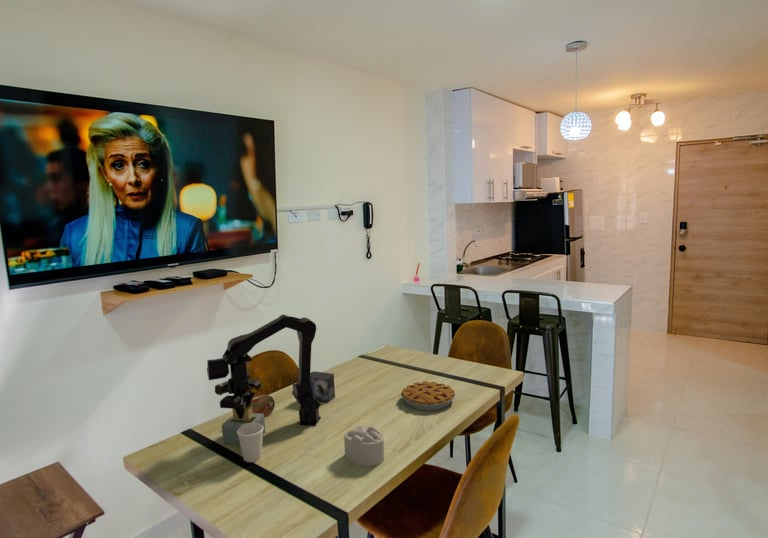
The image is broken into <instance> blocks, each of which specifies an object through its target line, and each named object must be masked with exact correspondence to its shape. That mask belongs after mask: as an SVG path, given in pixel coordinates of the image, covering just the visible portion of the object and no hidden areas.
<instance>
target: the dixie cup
mask: <svg viewBox="0 0 768 538" xmlns="http://www.w3.org/2000/svg"><path fill="white" fill-rule="evenodd" d="M263 429H264V427H263V426H262V425H261V424H257V423H252V424H247V425H244V426H242V427H240V428H239V429H238V430H237V434H238V437H239V441H240V445H239V446H240V450H241V453H242V457H243V461H244V462H245V461H247V462H246V463H249V462H250V463H253V462H252V461H256V460H258V459H259V460H260V458H262V457H263V456H262V455H263V454H262V451H263V435H264V434H263ZM261 456H262V457H261ZM259 460H258V461H259ZM256 462H257V461H256Z"/></svg>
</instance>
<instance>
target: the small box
mask: <svg viewBox="0 0 768 538" xmlns="http://www.w3.org/2000/svg"><path fill="white" fill-rule="evenodd" d="M310 383H311V386H312V390H313V396H314V397H315V398H316V400H317V401H318V402H322V403H330V402H331V401H333V399H335V398H336V392H335V391H336V389H335V373H330V372H321V371H310Z"/></svg>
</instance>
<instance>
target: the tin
mask: <svg viewBox="0 0 768 538" xmlns="http://www.w3.org/2000/svg"><path fill="white" fill-rule="evenodd" d="M275 403H276V402H275V399H274V397H272V396H271V395H268V394H260V395H258V396H254V397H253V400H252V402H251V405H250V406H252V410H253V413H259V414H264V418H266V417H268V416H269V415H271V414H272V413H273V412H274V409H275V406H276V404H275Z"/></svg>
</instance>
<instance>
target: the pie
mask: <svg viewBox="0 0 768 538" xmlns="http://www.w3.org/2000/svg"><path fill="white" fill-rule="evenodd" d="M400 396H401V398H402V399H403V401H404V402H405V404H406V405H408V407H410V408H413V409H416V410H420V411H424V412H425V411H426V412H427V411H428V412H431V411H437V410H442V409H444V408H446V407H448V406H449V405H451V403H452V401H453V400H454V399H455V397H456V392H455V389H452V387H451V386H450V385H446V384H445V383H437V382H436V381H432V382H429V381H422V382H414V383H413V384H408V385H407V386H406V387H403V388H402V391H401V393H400Z"/></svg>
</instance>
